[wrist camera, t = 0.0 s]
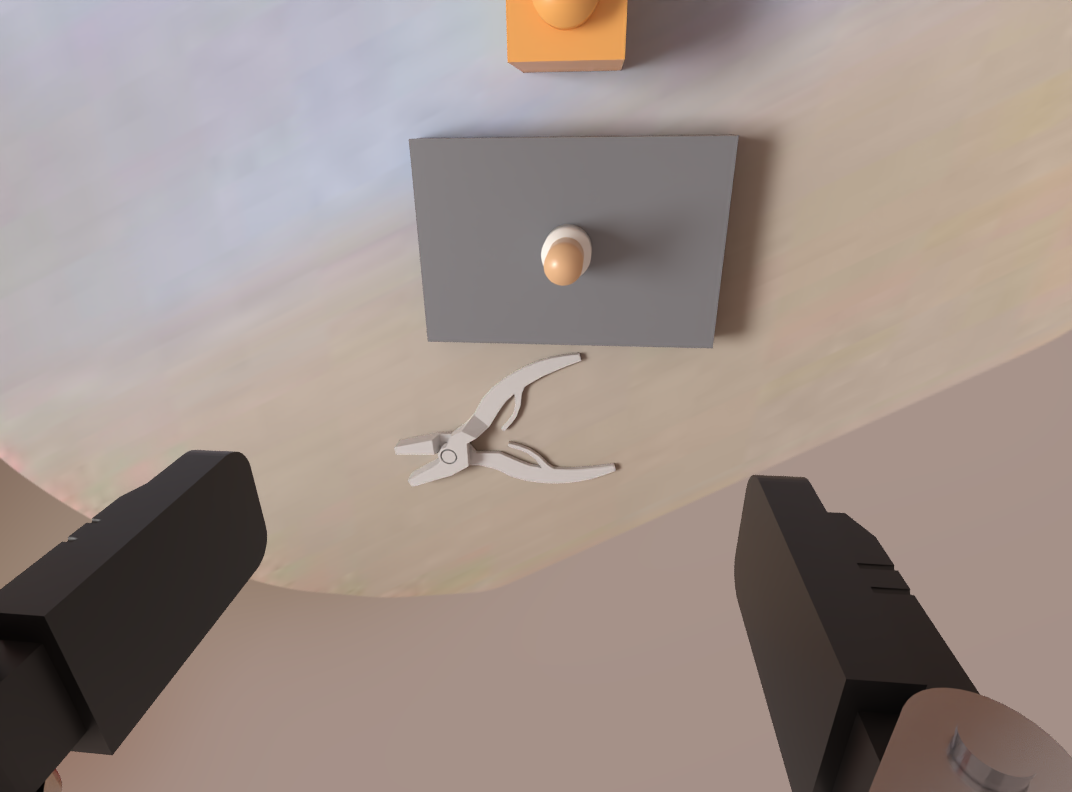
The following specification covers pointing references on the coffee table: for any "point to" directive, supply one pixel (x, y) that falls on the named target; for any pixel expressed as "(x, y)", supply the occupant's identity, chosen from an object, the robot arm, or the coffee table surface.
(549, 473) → the pliers
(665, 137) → the flat grey base plate
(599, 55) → the orange cube with dome
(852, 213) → the coffee table surface
